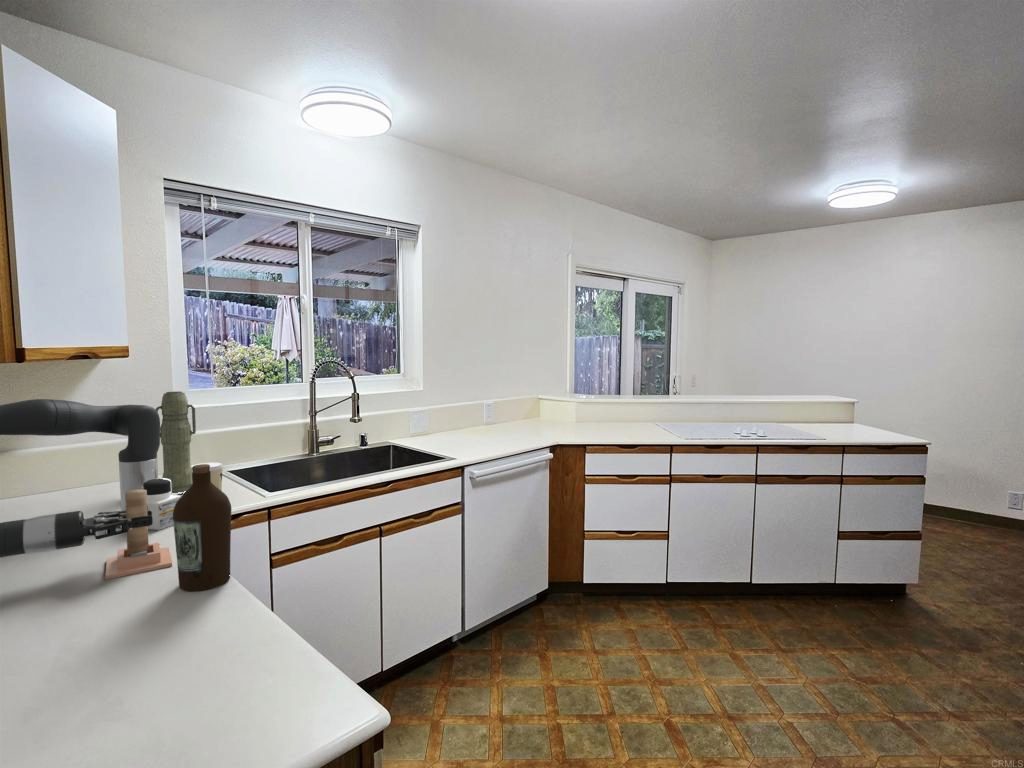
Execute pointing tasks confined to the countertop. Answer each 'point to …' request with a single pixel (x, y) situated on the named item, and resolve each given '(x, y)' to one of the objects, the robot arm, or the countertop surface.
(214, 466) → the coffee cup
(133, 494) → the tall wooden cylinder
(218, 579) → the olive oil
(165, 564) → the clip base
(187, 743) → the countertop surface
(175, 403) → the thermos
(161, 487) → the container
